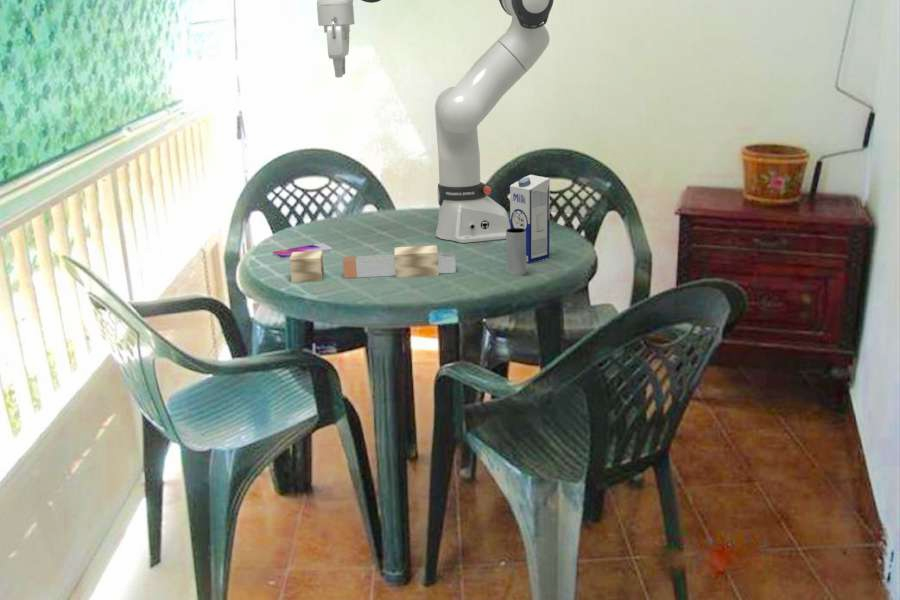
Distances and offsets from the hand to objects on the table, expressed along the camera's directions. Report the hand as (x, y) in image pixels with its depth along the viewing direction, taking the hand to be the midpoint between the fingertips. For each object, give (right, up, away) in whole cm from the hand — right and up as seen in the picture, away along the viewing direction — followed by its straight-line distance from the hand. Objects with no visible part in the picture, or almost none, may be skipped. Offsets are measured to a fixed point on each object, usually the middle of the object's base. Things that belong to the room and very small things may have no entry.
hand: (340, 76), depth 211 cm
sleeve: (+20, -50, -13) cm, 55 cm away
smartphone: (-11, -44, +9) cm, 46 cm away
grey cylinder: (+43, -50, -15) cm, 68 cm away
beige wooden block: (-6, -51, -14) cm, 53 cm away
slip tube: (+16, -50, -13) cm, 54 cm away
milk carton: (+47, -46, -4) cm, 66 cm away
